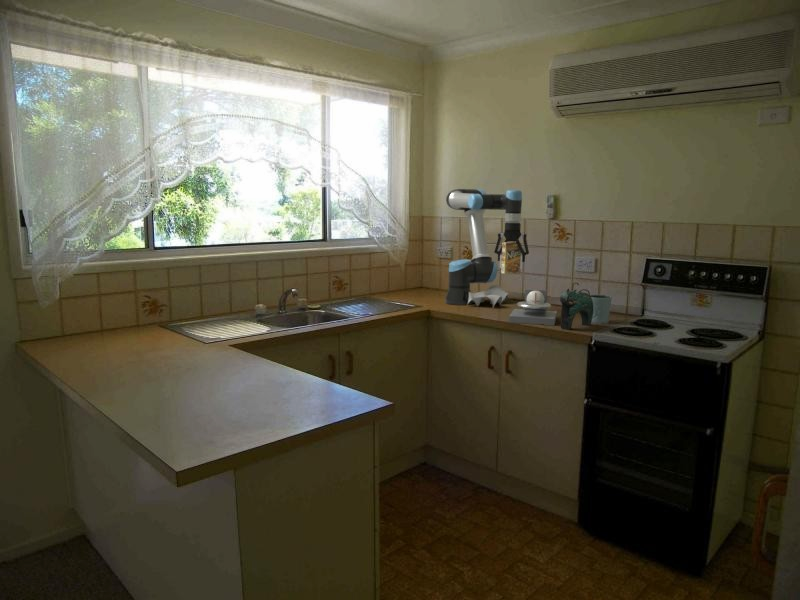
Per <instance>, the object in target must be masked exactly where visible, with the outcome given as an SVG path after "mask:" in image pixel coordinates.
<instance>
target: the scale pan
mask: <svg viewBox="0 0 800 600" xmlns="http://www.w3.org/2000/svg"><path fill="white" fill-rule="evenodd" d="M516 306H517V307H519V308H521V309H522V308H523V309H525V308H530V309H546V310H547V309H550V308H551V307H552V304H551V303H548V302H546V303H545V302H536V301H525V300H524V301H519V302H517V303H516Z"/></svg>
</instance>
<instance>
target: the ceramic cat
mask: <svg viewBox="0 0 800 600" xmlns="http://www.w3.org/2000/svg"><path fill="white" fill-rule="evenodd" d="M575 284H576V285H577V286H579V282H574V283H572V287H571V290H570V288H567V289H564V290H563V291H562V292H561V293H560V295H559V300H560V303H561V313H560V316H561V317H560V318H561V319H560V320H561V321H560V329H561V328H562V329H561V330H565V329H566V331H569V329H570V330H572V326H573V322H574V319H575V316H576V315H577V314H580V316H581V325H582V326H585V325H587V326H586V327H589V325H590V326H591V325H592V322H591V321H592V316H593V301H592V298H591V296H590V295H591V293H590V290H588V289H584V288H583V289H580V290H579V291H578V289H574V285H575ZM583 291H587V292H583Z"/></svg>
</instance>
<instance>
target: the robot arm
mask: <svg viewBox="0 0 800 600" xmlns="http://www.w3.org/2000/svg"><path fill="white" fill-rule="evenodd" d="M522 193H523V192H522V190H519V189H509V190H506V193H503V194H501V193H500V194H499V193H498V194H497V193H496V194H495V193H493V194H491V193H490V194H487V193H486V192H485V190H483V189H480V188H479V189H477V188H469V189H467V188H456V189H453V190H451V191H449V192H448V193H447V195H446V198H445V199H446V200H445V201H446V204H447V206H448V207H449V208H450V209H453V210H456V211H464V216H466V217H467V220H468V228H469V236H470V243H471V253H472V258H471V259H457V260H452V261H450V263H449V264H448V265H449V266H448V289H447V293H446V295H445V300H444V303H445V304H448V305H455V306H456V305H457V306H459V305H460V306H462V305H463V306H468V305H472V304H473V303H474V300H471V301H470V302H469V303H468V300H469V292H471V291H472V290H471V284H487V283H488V284H489V283H493V282H494V281H495V279H496V278H497V274H498V263H496V262H495V260H493V259H492V257H491V255H490V254H489V248H488V242H487V233H486V229H485V228H486V226H485V220H484V219H485V218H484V214H485V212H486V211H487V210H492V211H493V210H495V211H496V210H499V211H501V210H502V211H504V210H505V219H504V221H505V223H504V232H503V233H501V232H500V233H498V234H497V240H496V246H495V248H494V253H495V254H497V261H498V262H499V269H501V262H502V246H500V244H501V240H502V238H503V237H504V238H505V240H504V242H516V243H517V245H518V247H519V249H520V251H521V260H520V269H521V270H522V269H523V263H525V261H526V256H527V255H529V254H530V251H529V246H528V240H527V237H528V235H527V233H522V232H521V229H522V228H521V222H522V203H523V202H522V201H523V194H522ZM520 237H521V238H522V240H523V245H524V248H523V246H521V244H520V243H521V241H520ZM499 248H500V249H499ZM524 249H525V250H524ZM471 293H472V292H471ZM467 304H468V305H467Z"/></svg>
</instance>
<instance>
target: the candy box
mask: <svg viewBox="0 0 800 600" xmlns="http://www.w3.org/2000/svg"><path fill="white" fill-rule="evenodd" d="M520 244H521V246H522V242H520ZM501 247H502V253H501V254H502V262H501V268H500V269H501V270H500V273H501V274H503V275H505V274H506V275H509V274H510V275H511V274H513V275H516V274H521V270H522V269H520V260H521V255H522V253H521V251H520V249H519V247H518V245H517V243H516V241H515V242H513V241H510V242H509V241H508V242H505V241H503V242H501ZM522 247H523V246H522Z"/></svg>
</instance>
